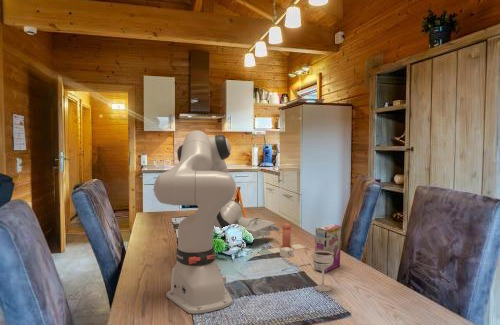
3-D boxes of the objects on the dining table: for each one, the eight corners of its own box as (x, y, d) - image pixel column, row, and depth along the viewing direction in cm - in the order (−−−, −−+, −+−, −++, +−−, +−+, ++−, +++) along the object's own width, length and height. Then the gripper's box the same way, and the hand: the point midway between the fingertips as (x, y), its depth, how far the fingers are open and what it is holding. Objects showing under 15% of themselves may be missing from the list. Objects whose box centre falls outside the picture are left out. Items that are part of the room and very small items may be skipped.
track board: (309, 250, 152) (309, 248, 151) (251, 261, 137) (251, 258, 137) (295, 244, 160) (295, 242, 160) (240, 254, 146) (240, 252, 146)
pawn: (293, 248, 151) (294, 223, 150) (285, 250, 148) (285, 224, 148) (287, 246, 155) (287, 221, 154) (279, 247, 152) (279, 222, 152)
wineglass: (334, 293, 107) (334, 256, 107) (312, 291, 108) (313, 255, 108) (332, 284, 114) (333, 250, 113) (312, 283, 115) (313, 248, 115)
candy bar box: (325, 274, 124) (326, 230, 123) (313, 270, 127) (314, 227, 126) (341, 266, 131) (341, 225, 131) (330, 263, 135) (330, 223, 134)
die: (293, 258, 141) (293, 249, 141) (287, 260, 138) (287, 251, 138) (286, 256, 144) (286, 246, 144) (279, 258, 141) (279, 248, 141)
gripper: (236, 225, 153) (262, 229, 146) (260, 217, 171) (284, 220, 163) (236, 238, 154) (262, 243, 146) (260, 229, 171) (284, 233, 163)
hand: (274, 231), depth 155 cm, fingers open, 8 cm apart
